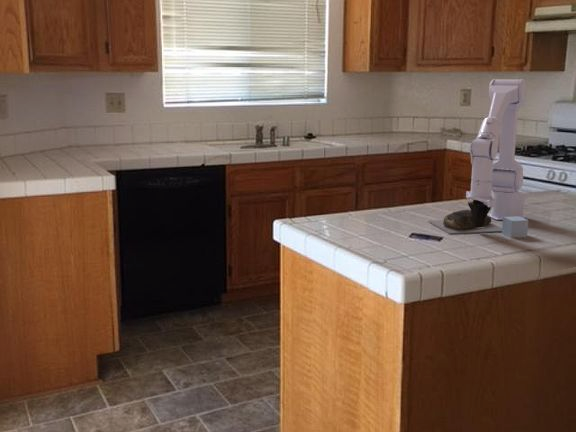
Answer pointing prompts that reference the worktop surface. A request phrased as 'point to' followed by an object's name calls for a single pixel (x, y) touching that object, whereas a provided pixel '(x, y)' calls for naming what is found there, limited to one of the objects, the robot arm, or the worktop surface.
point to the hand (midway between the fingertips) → (478, 226)
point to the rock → (462, 220)
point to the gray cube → (515, 226)
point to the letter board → (449, 230)
